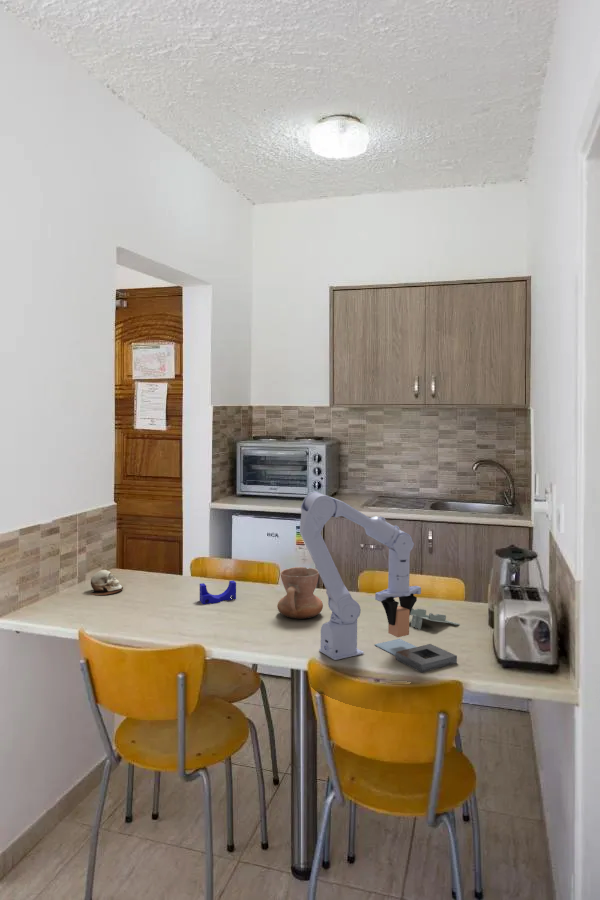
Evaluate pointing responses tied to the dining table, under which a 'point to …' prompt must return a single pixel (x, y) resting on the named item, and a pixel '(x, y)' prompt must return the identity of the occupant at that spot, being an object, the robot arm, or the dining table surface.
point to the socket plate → (434, 661)
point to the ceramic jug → (300, 593)
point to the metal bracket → (421, 614)
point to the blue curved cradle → (210, 598)
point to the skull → (104, 583)
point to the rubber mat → (395, 646)
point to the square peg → (400, 623)
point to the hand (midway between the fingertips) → (398, 622)
